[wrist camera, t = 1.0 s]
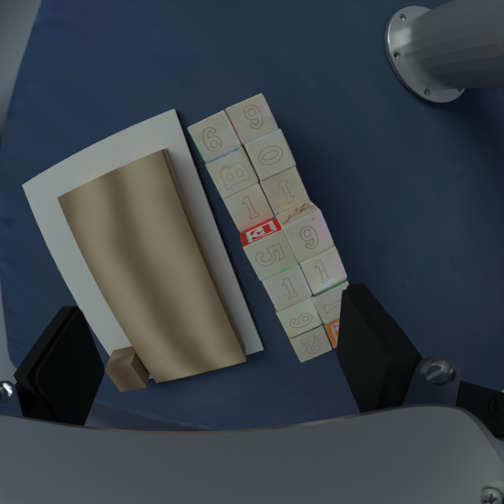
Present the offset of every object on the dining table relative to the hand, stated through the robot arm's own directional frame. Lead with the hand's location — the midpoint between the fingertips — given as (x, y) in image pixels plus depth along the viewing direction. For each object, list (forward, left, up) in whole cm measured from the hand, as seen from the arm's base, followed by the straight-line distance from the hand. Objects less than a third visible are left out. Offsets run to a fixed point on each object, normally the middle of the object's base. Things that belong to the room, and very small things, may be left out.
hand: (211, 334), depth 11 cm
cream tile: (+11, +5, -24) cm, 27 cm away
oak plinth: (+9, +6, -23) cm, 25 cm away
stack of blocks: (-4, +3, -24) cm, 25 cm away
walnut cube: (+18, +16, -23) cm, 33 cm away
